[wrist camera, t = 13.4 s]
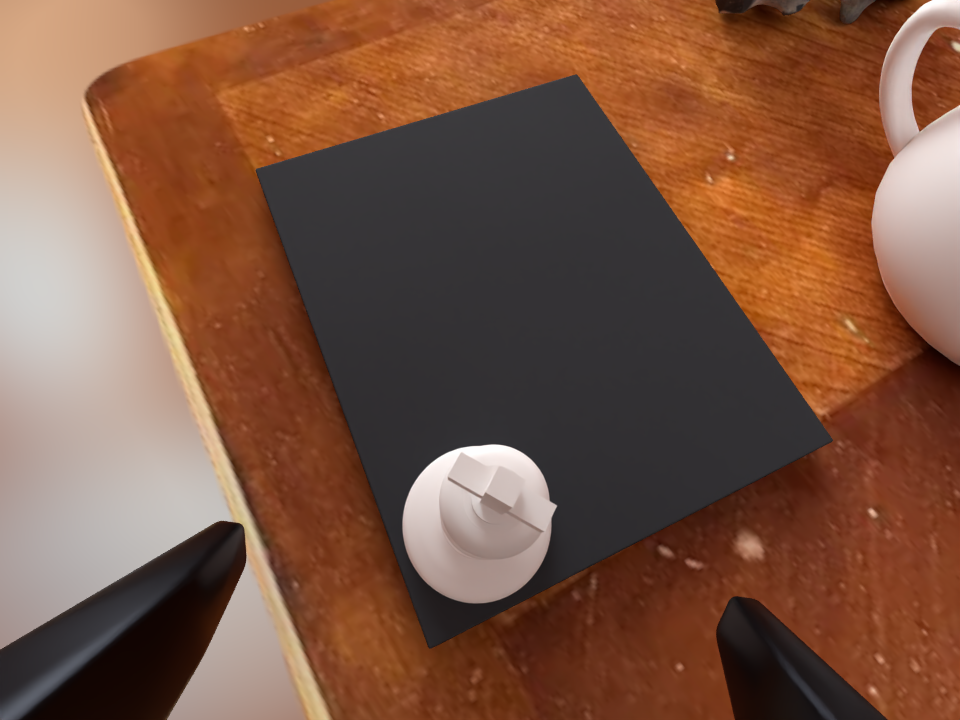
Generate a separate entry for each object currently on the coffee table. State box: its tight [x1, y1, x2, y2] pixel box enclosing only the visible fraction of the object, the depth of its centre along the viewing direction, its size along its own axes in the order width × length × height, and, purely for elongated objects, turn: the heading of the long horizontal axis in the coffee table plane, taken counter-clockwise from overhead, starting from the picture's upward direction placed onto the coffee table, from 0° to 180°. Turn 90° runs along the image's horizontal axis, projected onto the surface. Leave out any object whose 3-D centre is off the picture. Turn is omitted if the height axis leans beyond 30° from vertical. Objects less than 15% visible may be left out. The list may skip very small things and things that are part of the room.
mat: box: [256, 75, 833, 648], centre depth 20 cm, size 16×20×1 cm
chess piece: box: [403, 445, 557, 603], centre depth 12 cm, size 5×5×10 cm
